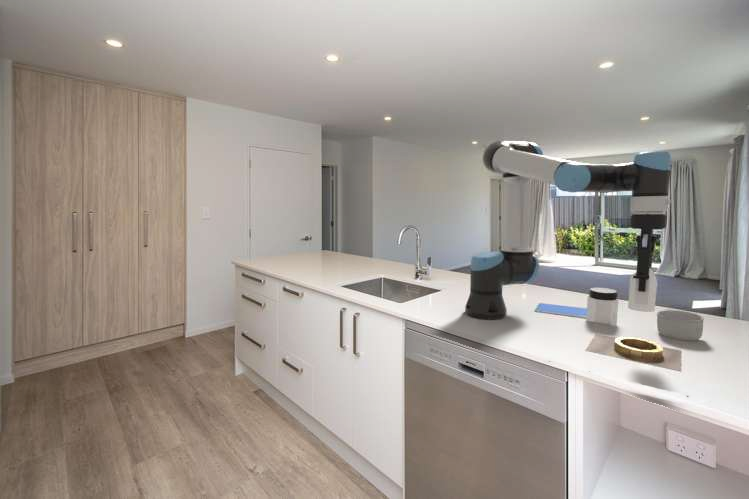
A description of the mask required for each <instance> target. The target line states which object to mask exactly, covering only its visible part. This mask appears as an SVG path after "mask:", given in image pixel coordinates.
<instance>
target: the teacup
mask: <svg viewBox="0 0 749 499" xmlns="http://www.w3.org/2000/svg"><path fill="white" fill-rule="evenodd" d="M656 316H657V317H656V323H657V324H656V325H657V327H656V328H657V332H658V333H659V334H660V335H662V336H663V337H667V338H670V339H674V340H679V341H688V342H694V341H695V342H696V341H698V340H700V339H701V338H702V336H703V332H704V331H703V330H704V319H705V318H704V316H702V315H701V314H698V313H695V312H691V311H685V310H674V309H672V308H668V309H666V310H665V309H664V310H659V311H658V312H656Z"/></svg>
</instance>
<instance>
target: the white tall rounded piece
mask: <svg viewBox="0 0 749 499" xmlns="http://www.w3.org/2000/svg"><path fill="white" fill-rule="evenodd" d="M651 268H652V267H651ZM651 268H650V270H649V276H650V277H649V279H650V280H649V293H648V304H639V303H635V289H636V278H633V276H636V273H637V270H636V271H635V272H634V273H632V275H631V276H630V277H629V278H630V279H629V287H628V288H629V289H628V304H627V308H628V309H629V310H631V311H635V312H636V311H637V312H646V313H651V312H655V308H656V297H657V289H658V279H657V277H656V275H655V273H654V274H653V272H654V271H653V268H652V269H651Z"/></svg>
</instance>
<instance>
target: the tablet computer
mask: <svg viewBox="0 0 749 499" xmlns="http://www.w3.org/2000/svg"><path fill="white" fill-rule="evenodd" d="M533 312H536V313H544V314H551V315H559V316H566V317H575V318H579V319H580V318H583V319H586V316H587V307H577V306H569V305H559V304H550V303H543V302H542V303H541V302H539V303H537V305H536V307H535V308H534V310H533Z"/></svg>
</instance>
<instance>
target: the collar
mask: <svg viewBox="0 0 749 499" xmlns="http://www.w3.org/2000/svg"><path fill="white" fill-rule="evenodd" d="M615 338H616V339H615V342H614V349H616V350H617V351H618V352H620V353H622V354H625V355H627V356H631V357H635V358H640V359H651V360H656V359H660V358H662V353H663V347H664V346H661V344H659V343H657V342H654V341H650V340H648V339H644V338H638V337H630V336H628V337H627V336H620V337H615ZM626 345H627V346H626ZM628 346H637V347H642V348H646V349H649V350H640V349H635V348H631V347H628Z"/></svg>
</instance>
